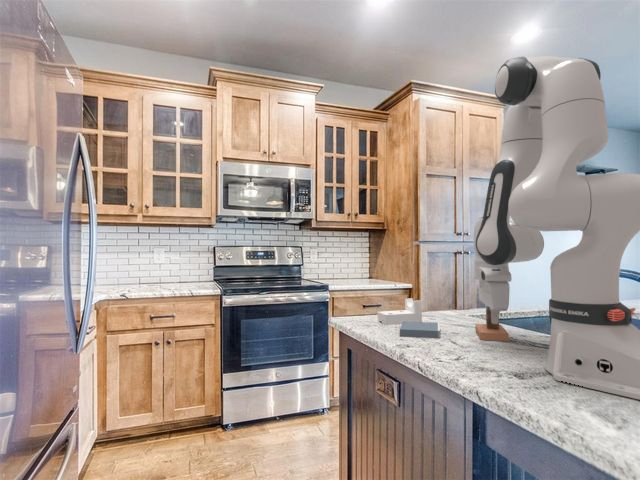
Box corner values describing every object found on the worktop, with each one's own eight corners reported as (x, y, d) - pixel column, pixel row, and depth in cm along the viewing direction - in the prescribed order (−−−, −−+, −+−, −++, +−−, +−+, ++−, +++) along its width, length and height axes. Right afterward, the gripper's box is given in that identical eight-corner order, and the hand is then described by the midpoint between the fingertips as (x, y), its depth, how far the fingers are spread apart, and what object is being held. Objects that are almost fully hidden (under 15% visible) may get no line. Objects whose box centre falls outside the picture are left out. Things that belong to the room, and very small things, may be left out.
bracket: (412, 319, 134) (411, 298, 135) (422, 323, 128) (421, 300, 128) (377, 321, 131) (377, 300, 132) (386, 325, 125) (385, 302, 125)
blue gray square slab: (399, 336, 108) (399, 328, 108) (403, 327, 120) (403, 321, 120) (440, 338, 105) (440, 330, 105) (439, 329, 117) (439, 322, 117)
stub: (479, 339, 102) (479, 313, 102) (475, 330, 114) (474, 306, 114) (508, 341, 100) (507, 314, 100) (501, 331, 112) (500, 307, 112)
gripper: (472, 270, 118) (474, 315, 118) (486, 275, 98) (488, 329, 98) (494, 270, 117) (496, 315, 116) (513, 275, 97) (515, 329, 96)
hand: (492, 322), depth 107 cm, fingers open, 3 cm apart
